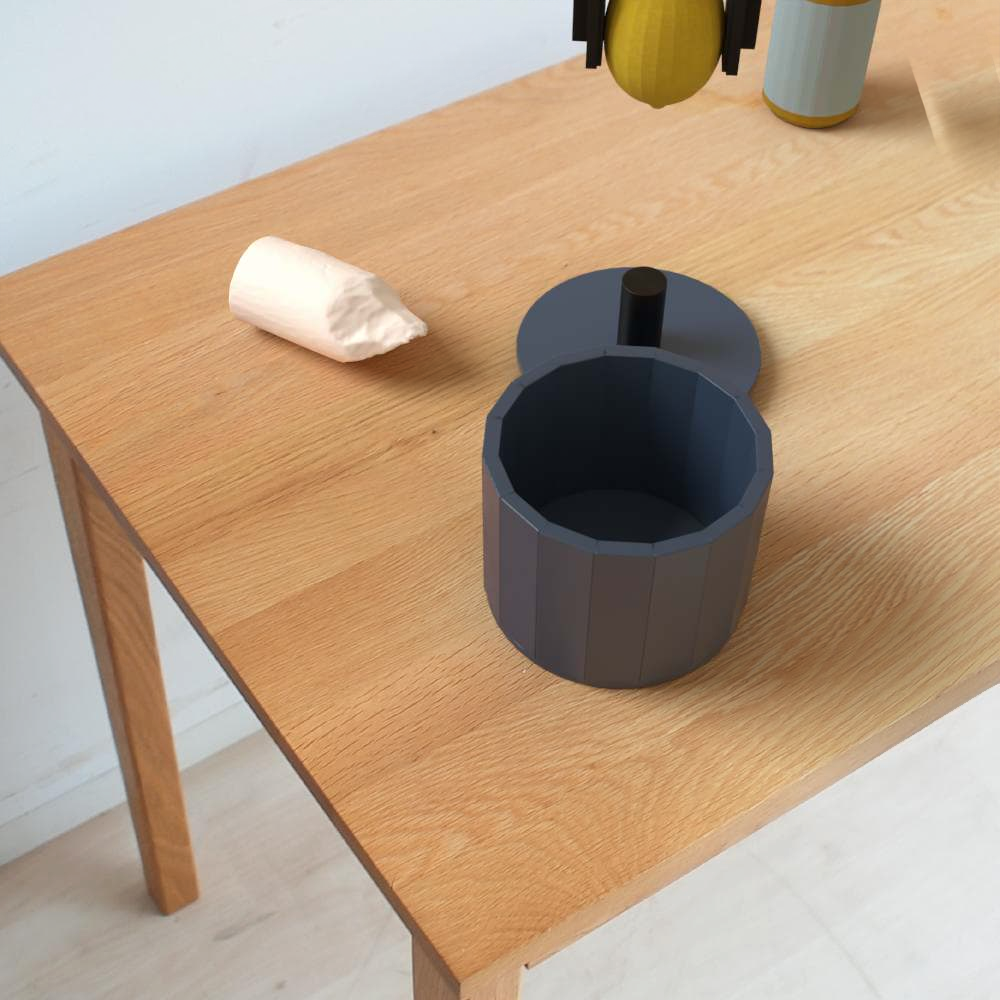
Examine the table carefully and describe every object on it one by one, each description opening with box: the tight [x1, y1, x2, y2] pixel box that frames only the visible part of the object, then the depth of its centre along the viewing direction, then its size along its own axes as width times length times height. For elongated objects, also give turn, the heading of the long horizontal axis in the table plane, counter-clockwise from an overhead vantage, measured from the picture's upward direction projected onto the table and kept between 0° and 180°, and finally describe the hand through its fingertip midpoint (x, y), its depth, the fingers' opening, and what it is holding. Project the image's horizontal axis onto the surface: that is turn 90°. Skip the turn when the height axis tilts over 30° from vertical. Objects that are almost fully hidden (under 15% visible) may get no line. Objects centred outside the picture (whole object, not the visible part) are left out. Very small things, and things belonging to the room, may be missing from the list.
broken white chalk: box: [228, 235, 429, 363], centre depth 86 cm, size 6×12×6 cm, turn 59°
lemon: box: [603, 0, 725, 110], centre depth 66 cm, size 6×6×8 cm
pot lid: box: [515, 265, 762, 396], centre depth 85 cm, size 15×15×6 cm
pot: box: [481, 345, 775, 690], centre depth 72 cm, size 14×14×10 cm
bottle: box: [761, 0, 883, 129], centre depth 99 cm, size 7×7×15 cm
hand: (661, 52), depth 67 cm, fingers closed on lemon, 5 cm apart
